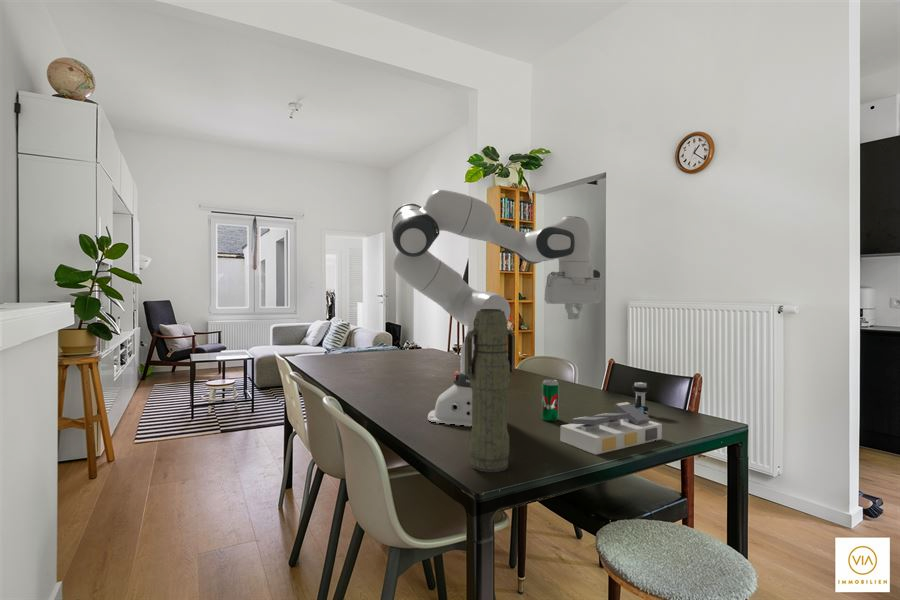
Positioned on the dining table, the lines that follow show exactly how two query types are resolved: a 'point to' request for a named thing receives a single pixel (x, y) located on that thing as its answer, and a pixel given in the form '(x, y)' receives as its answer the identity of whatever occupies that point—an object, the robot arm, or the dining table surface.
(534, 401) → the dining table surface
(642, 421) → the right rocker
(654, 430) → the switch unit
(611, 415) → the middle rocker
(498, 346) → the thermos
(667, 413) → the dining table surface
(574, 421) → the left rocker
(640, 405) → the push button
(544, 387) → the soda can
